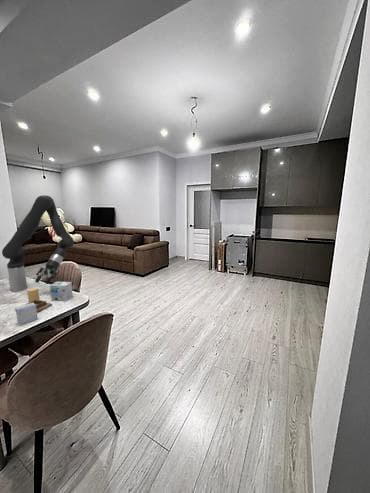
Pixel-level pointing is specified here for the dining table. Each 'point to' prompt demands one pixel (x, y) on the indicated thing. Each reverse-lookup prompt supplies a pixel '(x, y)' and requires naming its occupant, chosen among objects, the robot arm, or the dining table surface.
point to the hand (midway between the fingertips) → (41, 282)
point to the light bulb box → (61, 291)
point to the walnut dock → (40, 305)
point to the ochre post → (33, 294)
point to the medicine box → (26, 313)
